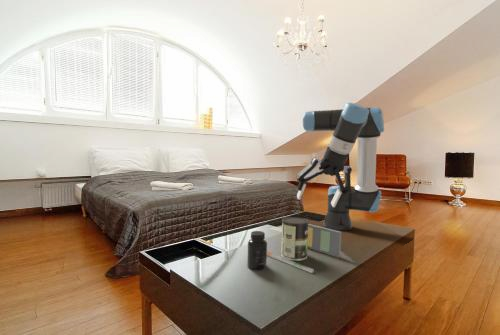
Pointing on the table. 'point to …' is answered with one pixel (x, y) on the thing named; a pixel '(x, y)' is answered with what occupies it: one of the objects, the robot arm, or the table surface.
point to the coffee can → (294, 238)
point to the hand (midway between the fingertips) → (315, 201)
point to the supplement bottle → (257, 251)
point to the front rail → (290, 262)
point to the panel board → (324, 240)
